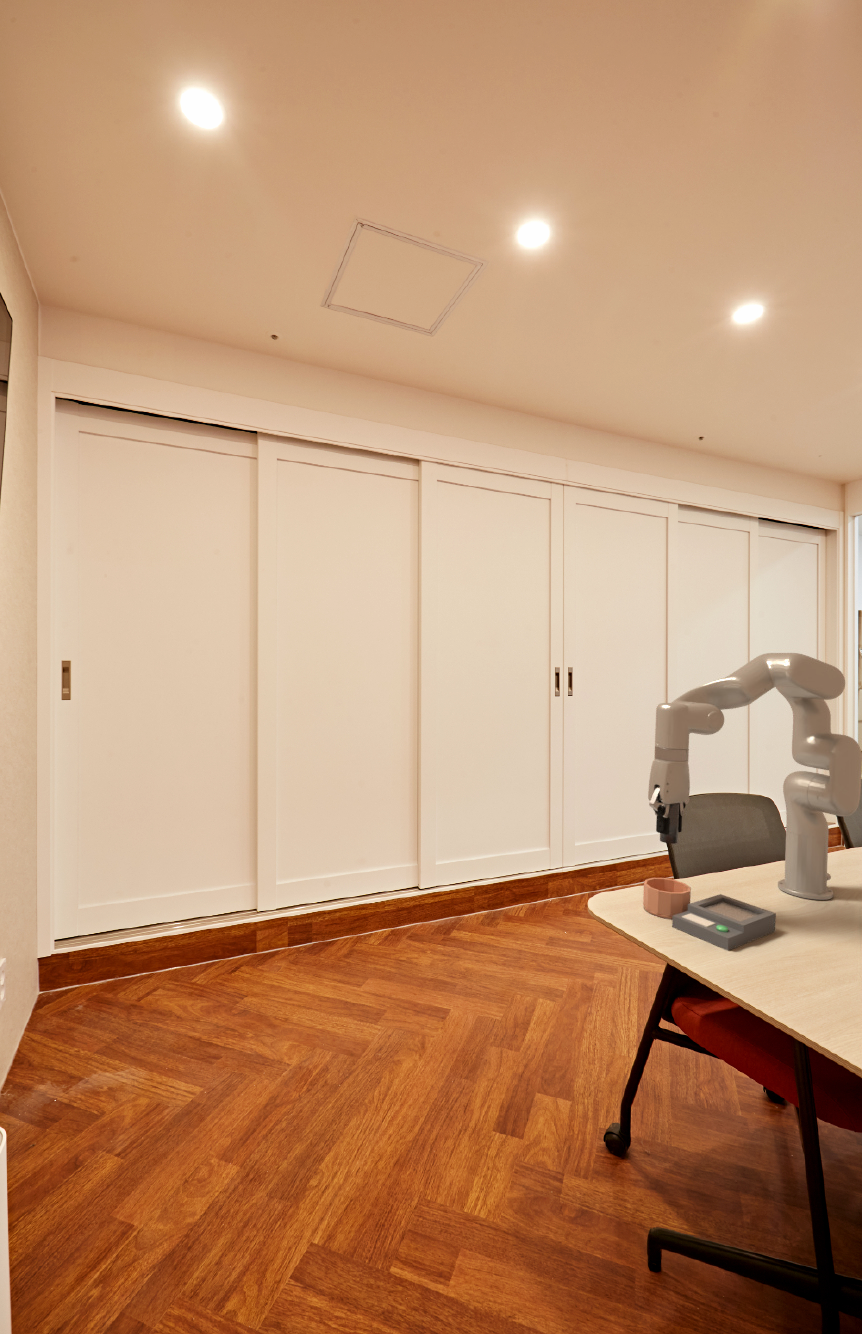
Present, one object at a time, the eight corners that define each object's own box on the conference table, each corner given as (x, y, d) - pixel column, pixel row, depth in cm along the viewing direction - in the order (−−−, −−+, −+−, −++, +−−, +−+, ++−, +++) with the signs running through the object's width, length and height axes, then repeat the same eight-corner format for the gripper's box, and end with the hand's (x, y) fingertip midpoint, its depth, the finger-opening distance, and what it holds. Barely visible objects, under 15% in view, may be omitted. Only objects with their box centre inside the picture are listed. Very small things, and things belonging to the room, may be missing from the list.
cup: (661, 899, 153) (662, 875, 153) (698, 913, 145) (699, 888, 145) (634, 907, 147) (635, 882, 147) (672, 922, 139) (672, 896, 139)
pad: (723, 905, 144) (723, 901, 144) (762, 919, 137) (762, 915, 137) (700, 913, 139) (700, 909, 139) (739, 928, 132) (739, 924, 132)
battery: (666, 838, 149) (668, 796, 149) (681, 842, 145) (682, 800, 145) (656, 840, 146) (657, 798, 146) (670, 844, 143) (672, 801, 143)
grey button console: (719, 910, 147) (720, 894, 147) (775, 931, 136) (775, 913, 136) (672, 926, 137) (672, 908, 137) (727, 950, 126) (728, 930, 126)
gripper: (678, 751, 154) (676, 824, 154) (635, 754, 144) (632, 832, 144) (706, 755, 147) (704, 831, 147) (663, 759, 138) (660, 840, 138)
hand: (668, 831), depth 146 cm, fingers closed on battery, 4 cm apart
